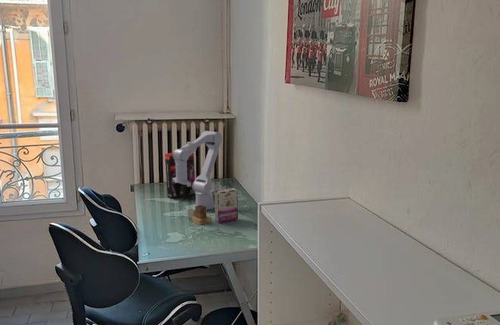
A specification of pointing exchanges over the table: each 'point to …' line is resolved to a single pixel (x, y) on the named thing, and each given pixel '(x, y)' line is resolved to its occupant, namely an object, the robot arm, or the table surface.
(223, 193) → the candy bar box
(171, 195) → the graphics card box
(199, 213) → the walnut block
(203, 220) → the oak slab
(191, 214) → the sage block
